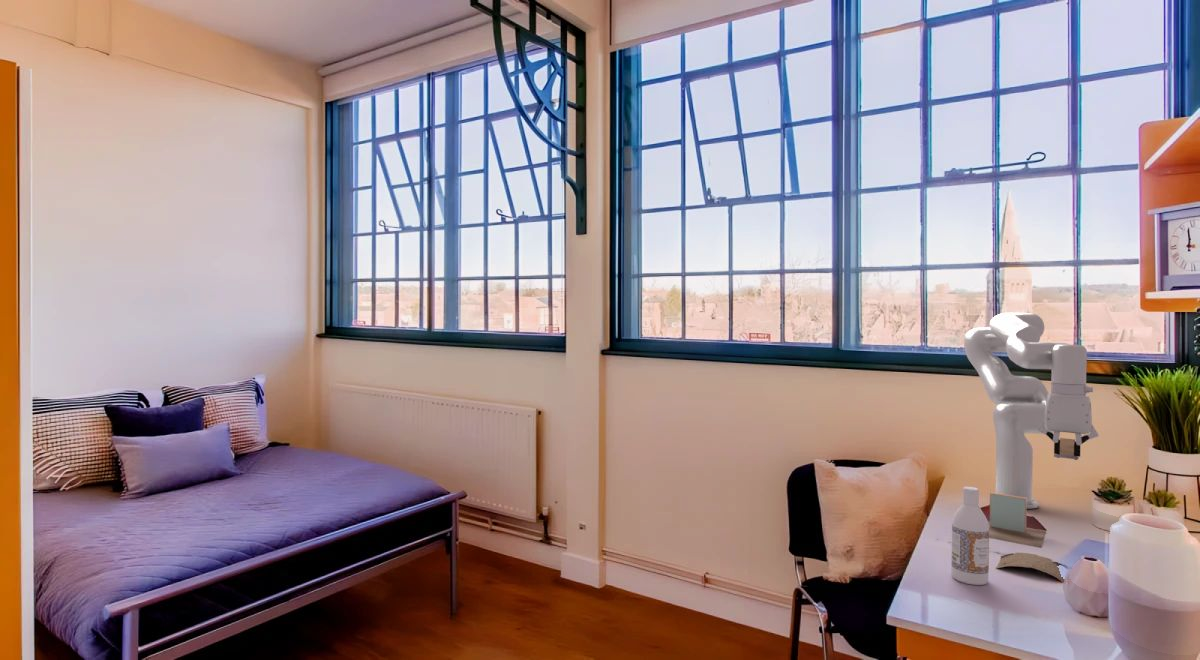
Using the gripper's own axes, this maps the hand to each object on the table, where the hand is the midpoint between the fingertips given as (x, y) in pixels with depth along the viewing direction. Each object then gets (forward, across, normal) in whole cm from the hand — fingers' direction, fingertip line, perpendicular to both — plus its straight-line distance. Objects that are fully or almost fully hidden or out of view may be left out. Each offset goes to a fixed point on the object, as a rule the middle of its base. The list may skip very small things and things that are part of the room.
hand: (1067, 457), depth 168 cm
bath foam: (+20, +15, +54) cm, 60 cm away
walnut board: (+20, +11, +17) cm, 28 cm away
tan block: (0, 0, +3) cm, 3 cm away
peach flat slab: (+18, +12, +14) cm, 26 cm away
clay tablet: (+21, +5, +38) cm, 44 cm away
